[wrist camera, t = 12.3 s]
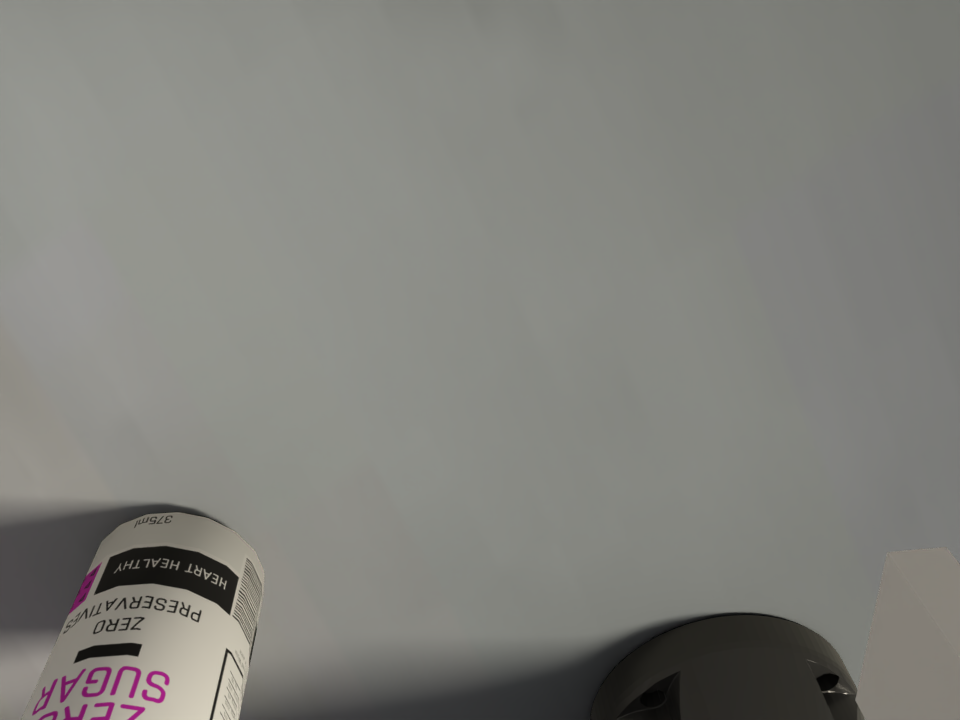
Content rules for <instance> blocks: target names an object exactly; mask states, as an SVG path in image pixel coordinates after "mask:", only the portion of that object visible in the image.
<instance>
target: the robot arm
mask: <svg viewBox="0 0 960 720" xmlns="http://www.w3.org/2000/svg"><path fill="white" fill-rule="evenodd" d="M864 718H865V720H960V564H959V563H958V562H957V560H956V559H955V558H954V556H953V555H952V554H951V553H950V551H949V550H948V549H947V547H941V548H930V549H918V550H907V551H896V552H887V556H886V561H885V565H884V570H883V575H882V579H881V584H880V588H879V593H878V598H877V602H876V607H875V611H874V616H873V621H872V625H871V630H870V635H869V639H868V644H867V648H866V653H865V658H864V662H863V667H862V671H861V676H860V681H859V685H858V690H857V688H856V686H855V684H854V682H853V680H852V678H851V676H850V674H849V672H848V671H847V669H846V667H845V665H844V663H843V661H842V659H841V658H840V656H839V654H838V653H837V651H836V650H835V649H834V648H833V647H832V646H831V644H830V643H829V642H827V641H826V640H825V639H824V638H823V637H821V636H820V635H819V634H817V633H815V632H814V631H812V630H810V629H808V628H806V627H804V626H802V625H799V624H797V623H794V622H791V621H787V620H783V619H779V618H774V617H767V616H756V615H736V616H724V617H717V618H711V619H706V620H702V621H697V622H694V623H690V624H687V625H684V626H681V627H678V628H676V629H673V630H671V631H668V632H666V633H664V634H662V635H660V636H658V637H656V638H654V639H652V640H650V641H649V642H647V643H645V644H644V645H642V646H641V647H639V648H638V649H636V650H635V651H634V652H632V653H631V654H630V655H628V656H627V657H626V658H625V659H624V660H623V661H622V662H620V663H619V664H618V666H617V667H616V668H615V669H614V670H613V671H612V672H611V673H610V674H609V676H608V677H607V678H606V680H605V681H604V683H603V684H602V686H601V688H600V689H599V691H598V693H597V695H596V698H595V700H594V703H593V707H592V711H591V717H590V720H864Z"/></svg>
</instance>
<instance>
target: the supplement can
mask: <svg viewBox="0 0 960 720" xmlns="http://www.w3.org/2000/svg"><path fill="white" fill-rule="evenodd" d="M263 595H264V570H263V568H262V566H261V563H260V561H259V559H258V557H257V554H256V552H255V550H254V549H253V548H252V547H251V546H250V545H249V544H248V543H247V542H245V541H244V540H243V539H242V538H241V537H240V536H239V535H238V534H237V533H236V532H235V531H233V530H231V529H229V528H227V527H225V526H223V525H221V524H219V523H217V522H215V521H213V520H211V519H209V518H206V517H201V516H196V515H191V514H186V513H180V512H173V513H159V514H147V515H144V516H142V517H139V518H136V519H134V520H131V521H129V522H126V523H123V524H121V525H119V526H118V527H117V528H116V529H115V530H114V531H113V532H112V533H110V534H109V535H108V536H107V537H106V538H105V539H104V540H103V541H102V542H101V544H100V546H99V548H98V550H97V553H96V555H95V557H94V559H93V561H92V564H91V566H90V568H89V570H88V573H87V575H86V577H85V579H84V581H83V584H82V586H81V588H80V590H79V592H78V595H77V597H76V599H75V601H74V604H73V606H72V608H71V610H70V612H69V615H68V617H67V619H66V621H65V623H64V626H63V628H62V630H61V632H60V634H59V637H58V639H57V641H56V643H55V646H54V648H53V650H52V652H51V654H50V657H49V659H48V661H47V663H46V665H45V668H44V670H43V672H42V674H41V677H40V679H39V681H38V683H37V685H36V688H35V690H34V692H33V694H32V696H31V699H30V701H29V703H28V705H27V708H26V710H25V712H24V714H23V716H22V719H21V720H239V715H240V710H241V705H242V700H243V695H244V690H245V685H246V680H247V675H248V670H249V665H250V660H251V655H252V650H253V645H254V640H255V635H256V630H257V625H258V620H259V615H260V610H261V605H262V600H263Z"/></svg>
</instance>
